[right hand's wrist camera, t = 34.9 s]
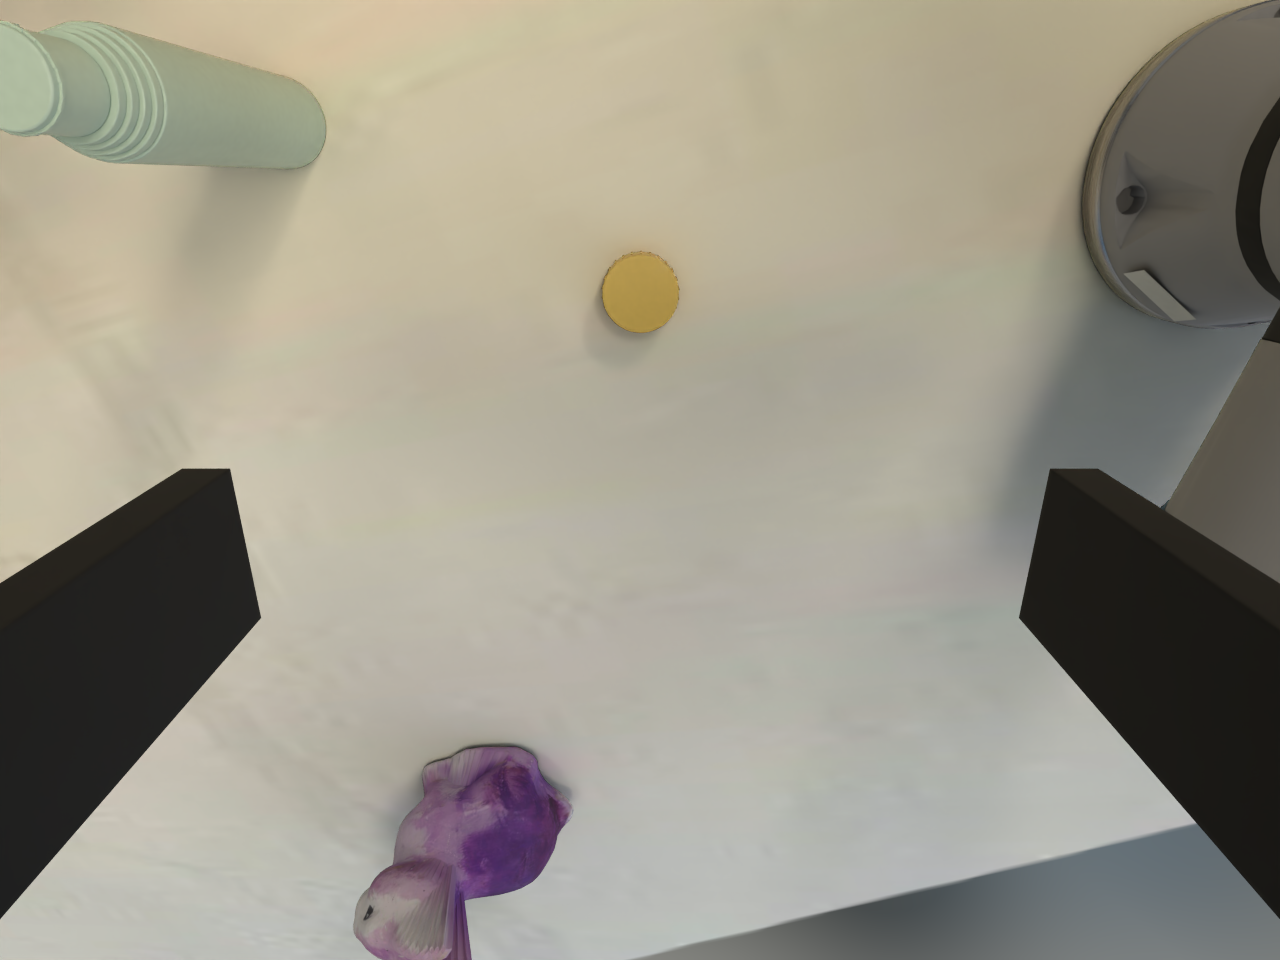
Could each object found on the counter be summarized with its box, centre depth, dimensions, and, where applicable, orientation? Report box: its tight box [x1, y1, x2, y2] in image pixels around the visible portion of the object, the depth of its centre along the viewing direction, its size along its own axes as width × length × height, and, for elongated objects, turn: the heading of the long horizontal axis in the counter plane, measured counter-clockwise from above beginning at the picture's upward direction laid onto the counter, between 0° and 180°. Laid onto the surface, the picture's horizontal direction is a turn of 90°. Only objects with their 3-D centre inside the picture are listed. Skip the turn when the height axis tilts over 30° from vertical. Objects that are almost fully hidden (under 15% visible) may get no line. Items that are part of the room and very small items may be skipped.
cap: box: [602, 251, 679, 333], centre depth 41 cm, size 4×4×2 cm
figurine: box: [353, 746, 573, 960], centre depth 47 cm, size 9×10×15 cm
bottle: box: [0, 20, 326, 169], centre depth 30 cm, size 4×4×18 cm
